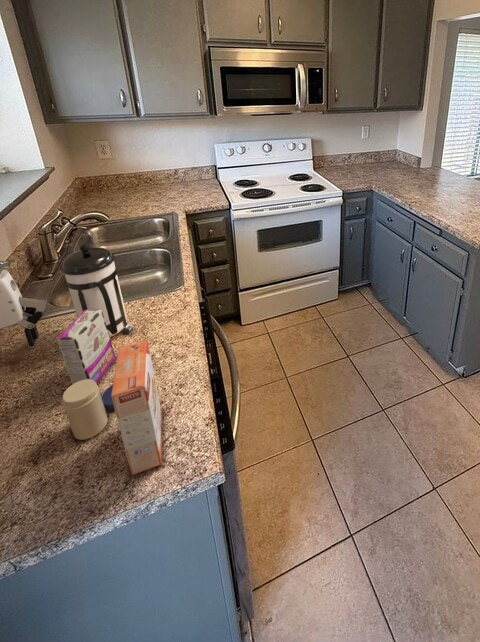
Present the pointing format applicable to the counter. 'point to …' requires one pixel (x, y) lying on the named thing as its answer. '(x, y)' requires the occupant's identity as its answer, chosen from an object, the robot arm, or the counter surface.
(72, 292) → the coffee press
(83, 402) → the jar
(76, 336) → the candy bar box
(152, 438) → the cracker box
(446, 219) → the counter surface
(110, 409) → the jar lid
